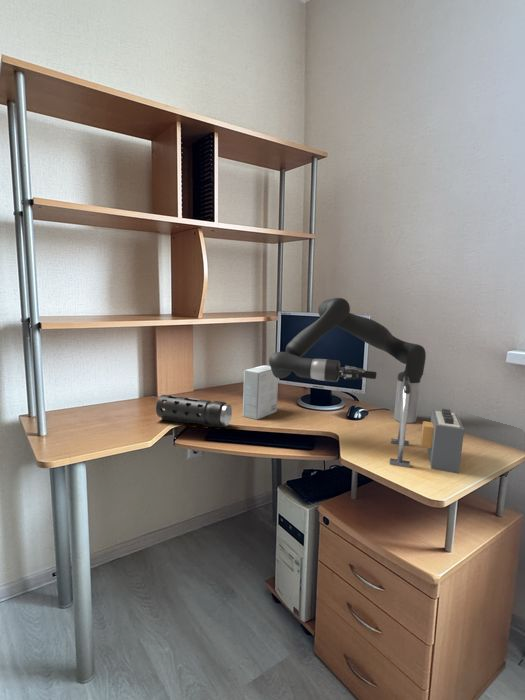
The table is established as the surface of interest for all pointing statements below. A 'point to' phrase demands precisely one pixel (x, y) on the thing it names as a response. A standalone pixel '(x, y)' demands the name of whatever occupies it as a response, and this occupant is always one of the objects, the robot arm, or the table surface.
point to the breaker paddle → (427, 434)
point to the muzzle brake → (194, 411)
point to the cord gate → (402, 427)
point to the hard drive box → (259, 392)
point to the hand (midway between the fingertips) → (376, 375)
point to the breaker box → (446, 441)
